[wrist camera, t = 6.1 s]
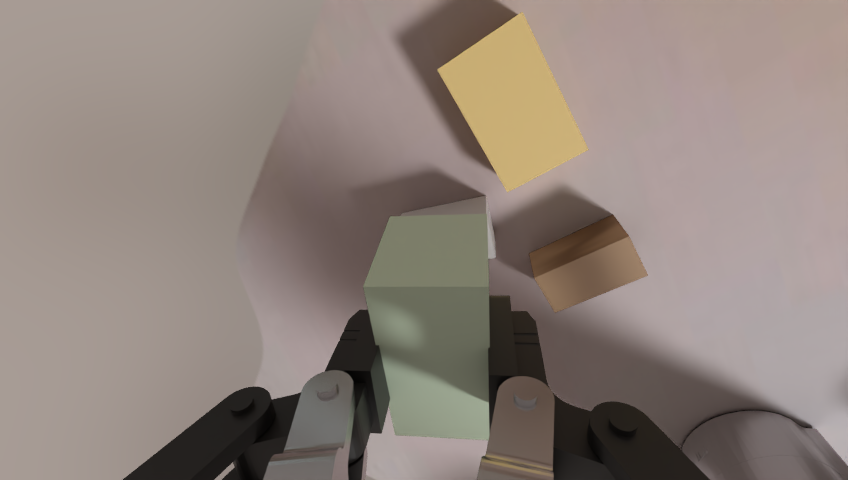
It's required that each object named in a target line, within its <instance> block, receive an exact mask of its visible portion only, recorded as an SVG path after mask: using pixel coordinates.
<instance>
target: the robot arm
mask: <svg viewBox="0 0 848 480" xmlns="http://www.w3.org/2000/svg"><path fill="white" fill-rule="evenodd" d="M489 327H490V348H488V377H489V440H488V446H487V451H486V455H485V456H483V457H482V459H481V462H480V467H479V472H478V477H477V480H848V466H847V464H846V463H845V462H844V461H843V460H842V459H841V457H840V456H839V455H838V454H837V453H836V452H835V450H834V449H833V448H832V447H831V446H830V444H829V443H828V442H827V441H826V440H825V439H824V437H823V436H822V435H821V434H820V433H819V432H818V430H817V429H811V428H804V427H801V426H799V425H798V424H797V423H795V422H794V421H792V420H791V419H789V418H787V417H784V416H782V415H780V414H775V413H771V412H766V411H739V412H734V413H729V414H725V415H722V416H719V417H716V418H713V419H711V420H709V421H707V422H705V423H703V424H702V425H700V426H699V427H698V428H696V429H695V430H694V431H693V432H692V433H691V434H690V435H689V436H688V437H687V438H686V440H685V442H684V444H683V446H682V451H681V450H680V449H679V448H678V447H677V446H676V445H675V444H674V443H673V442H672V441H671V440H670V439H669V438H668V437H667V436H666V435H665V434H664V433H663V432H662V431H661V430H660V429H659V428H658V427H657V426H656V425H655V424H654V423H653V422H652V421H651V420H650V419H649V418H648V417H647V416H646V415H645V414H644V413H643V412H641V411H640V410H638V409H637V408H635V407H633V406H630V405H628V404H624V403H620V402H605V403H601V404H599V405H597V406H596V407H594V409H593V410H592V411H588V410H584V409H581V408H578V407H575V406H572V405H569V404H567V403H565V402H563V401H562V400H560V399H559V398H558V397H557V396H555V395H554V394H553V392H552V391H551V389H550V388H549V386H548V384H547V380H546V375H545V369H544V364H543V359H542V353H541V348H540V343H539V337H538V332H537V327H536V322H535V320H534V319H533V318H532V317H531V316H530V315H529V313H528V312H527V311H511V304H510V296H489ZM389 402H390V395H389V390H388V386H387V381H386V376H385V371H384V367H383V362H382V357H381V352H380V348H379V345H376V344H375V339H374V335H373V330H372V325H371V321H370V316H369V312H368V310H359V311H358V312H357V313H356V314H355V315H353V316H352V317H351V318H350V319H349V321H348V323H347V325H346V327H345V329H344V332H343V334H342V336H341V338H340V341H339V342H338V344H337V346H336V348H335V351H334V353H333V355H332V357H331V359H330V361H329V363H328V365H327V368H326V370H325V372H322V373H320V374H317V375H316V376H314V377H312V378H311V379H310V380H309V381H308V382H307V383H306V384H305V385H304V387H303V389H302V392H301V393H298V394H295V395H291V396H286V397H282V398H277V399H273V400H272V399H271V396H270V394H269V392H268V391H267V390H266V389H264V388H261V387H248V388H244V389H241V390H239V391H236V392H234V393H233V394H231V395H229V396H228V397H227V398H225V399H224V400H223V401H222V402H220V403H219V404H218V405H217V406H215V407H214V408H213V409H211V410H210V411H209V412H208V413H206V414H205V415H204V416H203V417H201V418H200V419H199V420H197V421H196V422H195V423H194V424H193V425H191V426H190V427H189V428H187V429H186V430H185V431H184V432H182V433H181V434H180V435H179V436H177V437H176V438H175V439H174V440H172V441H171V442H170V443H168V444H167V445H166V446H165V447H163V448H162V449H161V450H160V451H158V452H157V453H156V454H154V455H153V456H152V457H151V458H150V459H148V460H147V461H146V462H145V463H143V464H142V465H141V466H139V467H138V468H137V469H136V470H134V471H133V472H132V473H131V474H129V475H128V476H127V477H126V478H124V479H123V480H214V479H215V478H216V477H217V476H218V475H219V474H221V473H222V472H223V471H224V470H225V469H226V468H227V467H228V466H229V465H230V464H231V463H232V462H233V464H234V466H235V468H234V469H233V470H231V471H230V472H229V473H228V474H227V475H226V476H225V477H224V478H223V479H222V480H365V478H366V467H367V448H366V446H367V442H368V439H369V435H370V433H382V430H383V426H384V422H385V418H386V414H387V410H388V406H389Z"/></svg>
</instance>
